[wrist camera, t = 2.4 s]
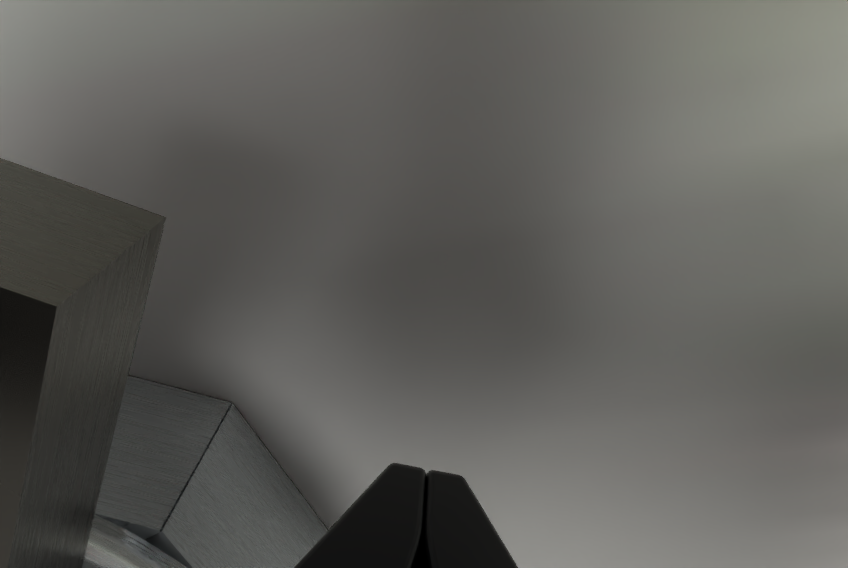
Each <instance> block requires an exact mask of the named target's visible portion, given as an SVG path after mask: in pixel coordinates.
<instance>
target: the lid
mask: <svg viewBox="0 0 848 568" xmlns="http://www.w3.org/2000/svg"><path fill="white" fill-rule="evenodd" d="M165 219H166V217H164V216H161V215H158V214H155V213H152V212H150V211H147V210H144V209H141V208H138V207H136V206H133V205H130V204H127V203H124V202H122V201H119V200H116V199H113V198H110V197H108V196H105V195H102V194H99V193H96V192H94V191H91V190H88V189H85V188H83V187H80V186H77V185H74V184H71V183H69V182H66V181H63V180H60V179H57V178H55V177H52V176H49V175H46V174H43V173H41V172H38V171H35V170H32V169H29V168H27V167H24V166H21V165H18V164H15V163H13V162H10V161H7V160H4V159H1V158H0V568H187V567H186V566H184V565H183V564H182V563H180V562H179V561H177V560H176V559H174V558H172V557H171V556H169V555H168V554H166V553H164V552H163V551H161V550H160V549H158V548H156V547H155V546H153V545H152V544H150V543H148V542H147V541H145V540H144V539H142V538H140V537H139V536H137V535H135V534H133V533H131V532H129V531H127V530H125V529H123V528H121V527H119V526H117V525H115V524H113V523H111V522H109V521H107V520H105V519H103V518H101V517H99V516H97V515H95V511H96V507H97V503H98V498H99V494H100V490H101V486H102V482H103V478H104V473H105V469H106V465H107V461H108V457H109V453H110V448H111V444H112V440H113V436H114V432H115V428H116V423H117V419H118V415H119V411H120V407H121V403H122V398H123V394H124V390H125V386H126V382H127V378H128V373H129V369H130V365H131V361H132V357H133V353H134V348H135V344H136V340H137V336H138V332H139V328H140V323H141V319H142V315H143V311H144V307H145V303H146V298H147V294H148V290H149V286H150V282H151V278H152V273H153V269H154V265H155V261H156V257H157V253H158V248H159V244H160V240H161V236H162V232H163V228H164V223H165Z"/></svg>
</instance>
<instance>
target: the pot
mask: <svg viewBox="0 0 848 568" xmlns="http://www.w3.org/2000/svg"><path fill="white" fill-rule="evenodd" d="M95 515H97V516H99V517H101V518H103V519H105V520H107V521H109V522H111V523H113V524H115V525H117V526H119V527H121V528H123V529H125V530H127V531H129V532H131V533H133V534H135V535H137V536H139V537H140V538H142V539H144V540H145V541H147V542H148V543H150V544H152V545H153V546H155V547H156V548H158V549H160V550H161V551H163V552H164V553H166V554H168V555H169V556H171V557H172V558H174V559H176V560H177V561H179V562H180V563H182V564H183V565H184V566H186V567H187V568H294V567H295V566H296V565H297V564H298V563H299V562H300V560H301V559H302V558H303V557H304V556H305V555H306V554H307V553H308V552H309V551H310V550H311V549H312V548H313V546H314V545H315V544H316V543H317V542H318V541H319V540H320V539H321V538H322V537H323V536H324V535H325V534H326V532H327V531H328V530H327V528H326V527H325V526H324V524H323V523H322V522H321V520H320V519H319V518H318V516H317V515H316V514H315V512H314V511H313V510H312V508H311V507H310V506H309V504H308V503H307V502H306V500H305V499H304V498H303V496H302V495H301V494H300V492H299V491H298V490H297V488H296V487H295V486H294V484H293V483H292V482H291V480H290V479H289V478H288V476H287V475H286V474H285V472H284V471H283V470H282V468H281V467H280V466H279V464H278V463H277V462H276V460H275V459H274V458H273V456H272V455H271V454H270V452H269V451H268V450H267V448H266V447H265V446H264V444H263V443H262V442H261V440H260V439H259V438H258V436H257V435H256V434H255V432H254V431H253V430H252V428H251V427H250V426H249V424H248V423H247V422H246V420H245V419H244V418H243V416H242V415H241V414H240V412H239V411H238V410H237V408H236V407H235V406H234V404H231V402H228V401H224V400H220V399H216V398H212V397H209V396H205V395H201V394H197V393H193V392H189V391H186V390H182V389H178V388H174V387H170V386H167V385H163V384H159V383H155V382H151V381H148V380H144V379H140V378H136V377H132V376H128V378H127V382H126V386H125V390H124V394H123V398H122V403H121V407H120V411H119V415H118V419H117V423H116V428H115V432H114V436H113V440H112V444H111V448H110V453H109V457H108V461H107V465H106V469H105V473H104V478H103V482H102V486H101V490H100V494H99V498H98V503H97V507H96V511H95Z"/></svg>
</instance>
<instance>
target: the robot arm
mask: <svg viewBox="0 0 848 568" xmlns="http://www.w3.org/2000/svg"><path fill="white" fill-rule="evenodd" d="M294 568H518V567H517V565H516V563H515V562H514V560H513V558H512V557H511V555H510V553H509V552H508V550H507V548H506V547H505V545H504V543H503V542H502V540H501V538H500V537H499V535H498V533H497V532H496V530H495V528H494V527H493V525H492V523H491V522H490V520H489V518H488V517H487V515H486V513H485V512H484V510H483V508H482V507H481V505H480V503H479V502H478V500H477V498H476V497H475V495H474V493H473V492H472V490H471V488H470V487H469V485H468V483H467V482H466V480H465V479H464V478H463V477H462V476H460V475H456V474H451V473H446V472H440V471H435V470H431V471H429V472H428V473H427V475H426V472H425V470H423V469H422V468H419V467H414V466H409V465H403V464H398V463H392V464H390V465H389V466H388V467H387V468H386V469H385V470H384V471H383V472H382V473H381V474H380V475H379V476H378V477H377V479H376V480H375V481H374V482H373V483H372V484H371V485H370V486H369V487H368V488H367V489H366V490H365V491H364V493H363V494H362V495H361V496H360V497H359V498H358V499H357V500H356V501H355V502H354V503H353V504H352V505H351V507H350V508H349V509H348V510H347V511H346V512H345V513H344V514H343V515H342V516H341V517H340V518H339V519H338V521H337V522H336V523H335V524H334V525H333V526H332V527H331V528H330V529H329V530H328V531H327V532H326V534H325V535H324V536H323V537H322V538H321V539H320V540H319V541H318V542H317V543H316V544H315V545H314V546H313V548H312V549H311V550H310V551H309V552H308V553H307V554H306V555H305V556H304V557H303V558H302V559H301V560H300V562H299V563H298V564H297V565H296V566H295V567H294Z"/></svg>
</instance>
